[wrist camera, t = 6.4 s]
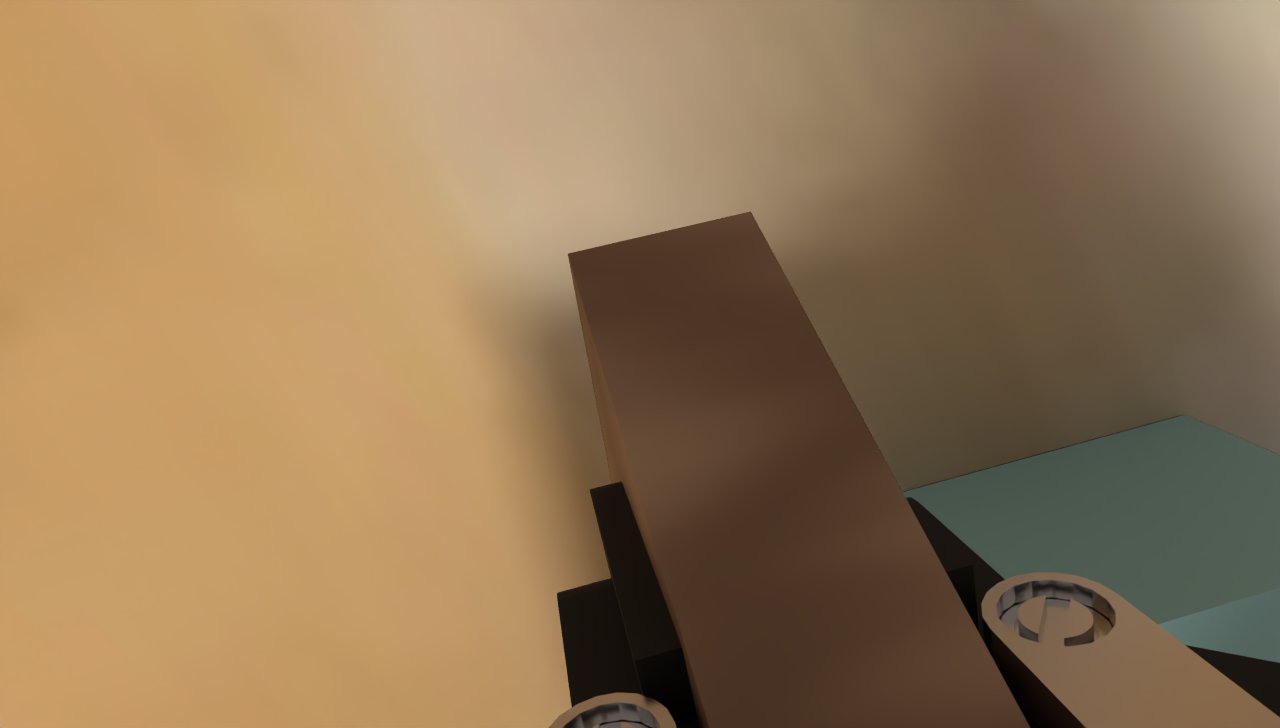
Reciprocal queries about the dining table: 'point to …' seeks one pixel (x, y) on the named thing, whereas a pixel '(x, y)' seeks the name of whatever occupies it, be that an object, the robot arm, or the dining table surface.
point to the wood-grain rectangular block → (769, 498)
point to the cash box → (1140, 526)
